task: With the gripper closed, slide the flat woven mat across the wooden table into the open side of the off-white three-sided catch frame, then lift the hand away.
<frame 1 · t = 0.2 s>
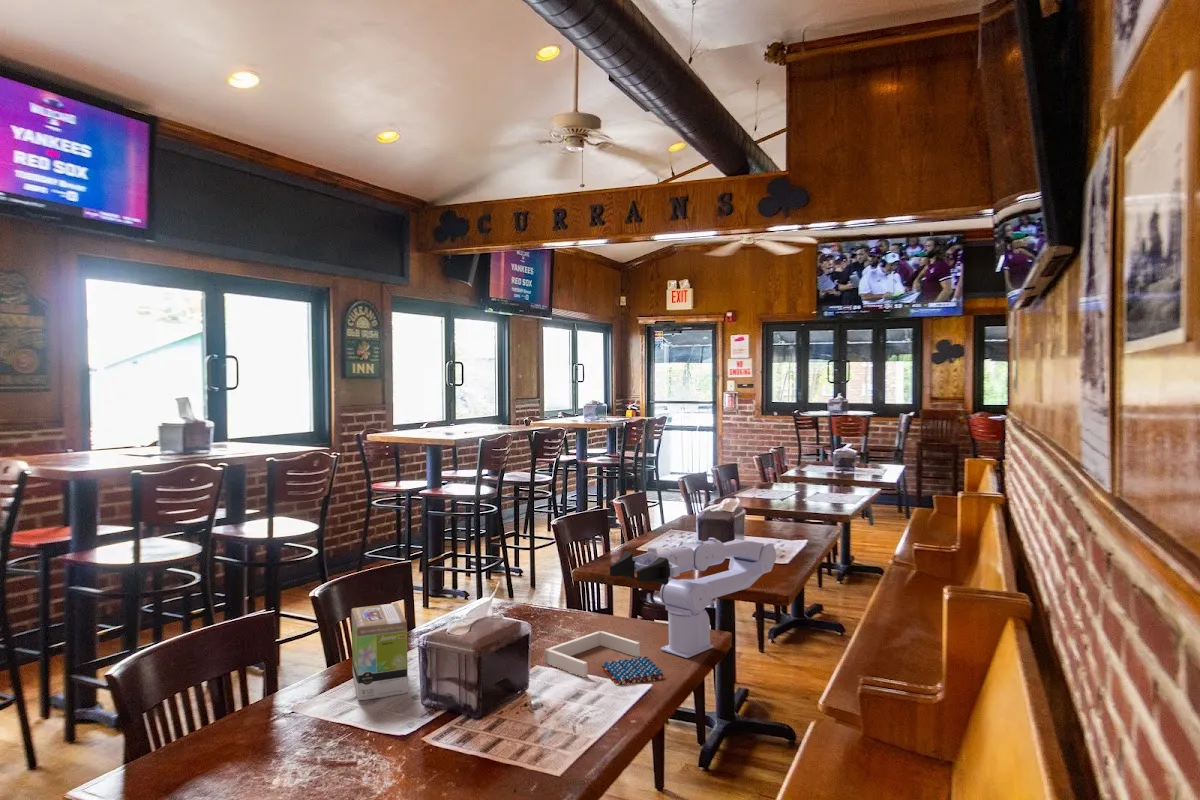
hand: (624, 573, 161), 21 cm above the table, tool horizontal, fingers open, 7 cm apart
tea box: (380, 685, 161), on the table
woven mat: (631, 676, 163), on the table
catch frame: (600, 662, 170), on the table
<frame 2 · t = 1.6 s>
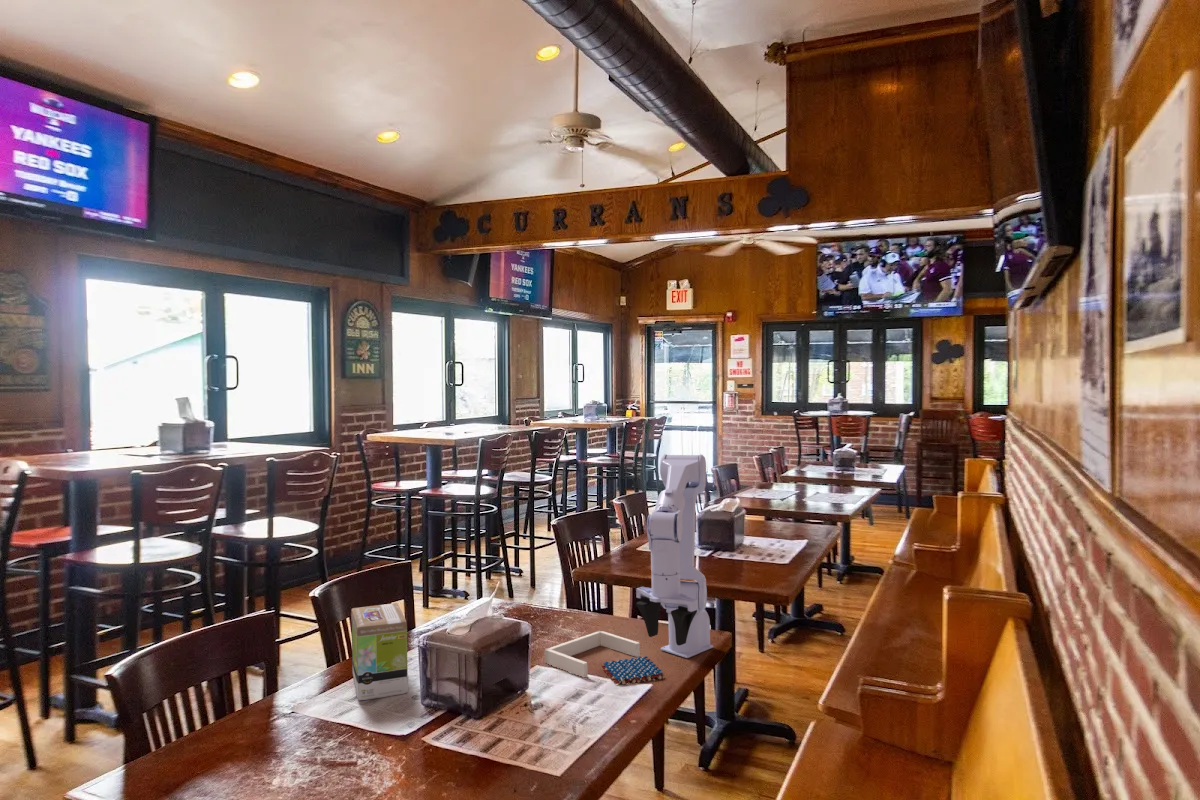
hand: (667, 639, 155), 9 cm above the table, tool pointing down, fingers open, 7 cm apart
nothing on the table moved.
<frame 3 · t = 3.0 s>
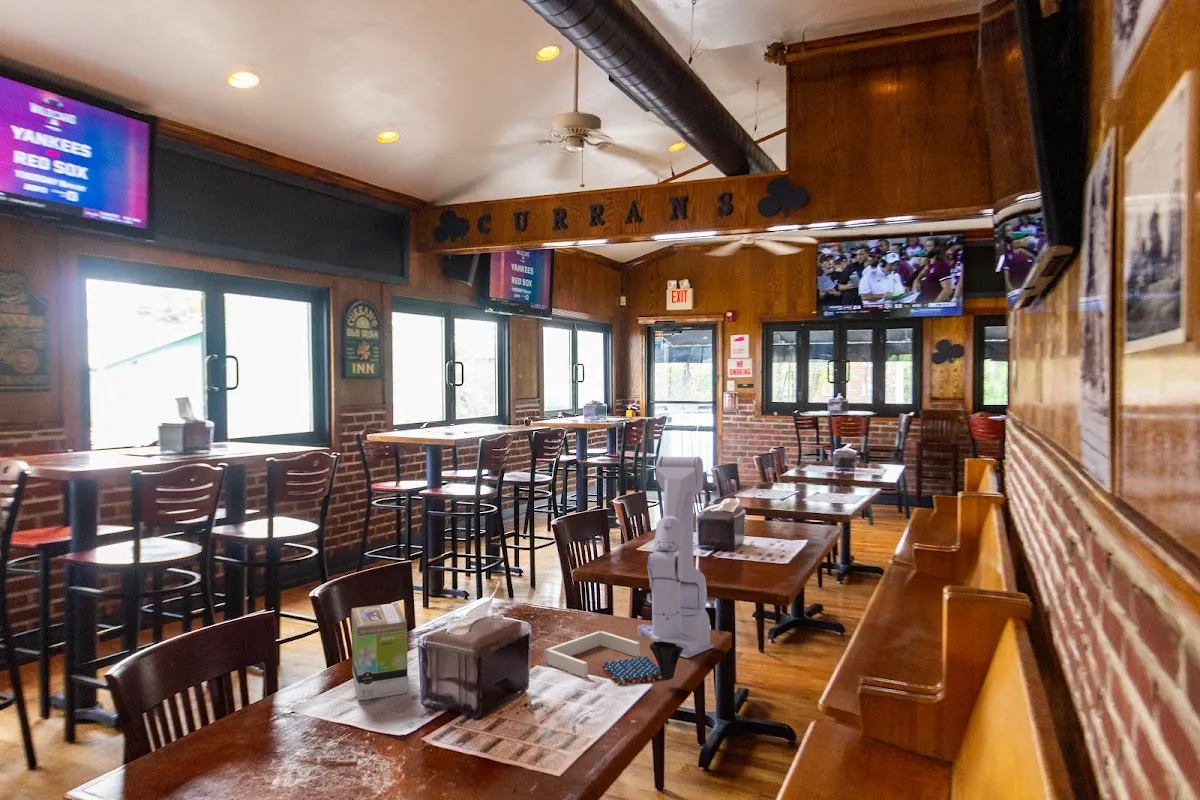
hand: (667, 678, 156), 2 cm above the table, tool pointing down, fingers closed
nothing on the table moved.
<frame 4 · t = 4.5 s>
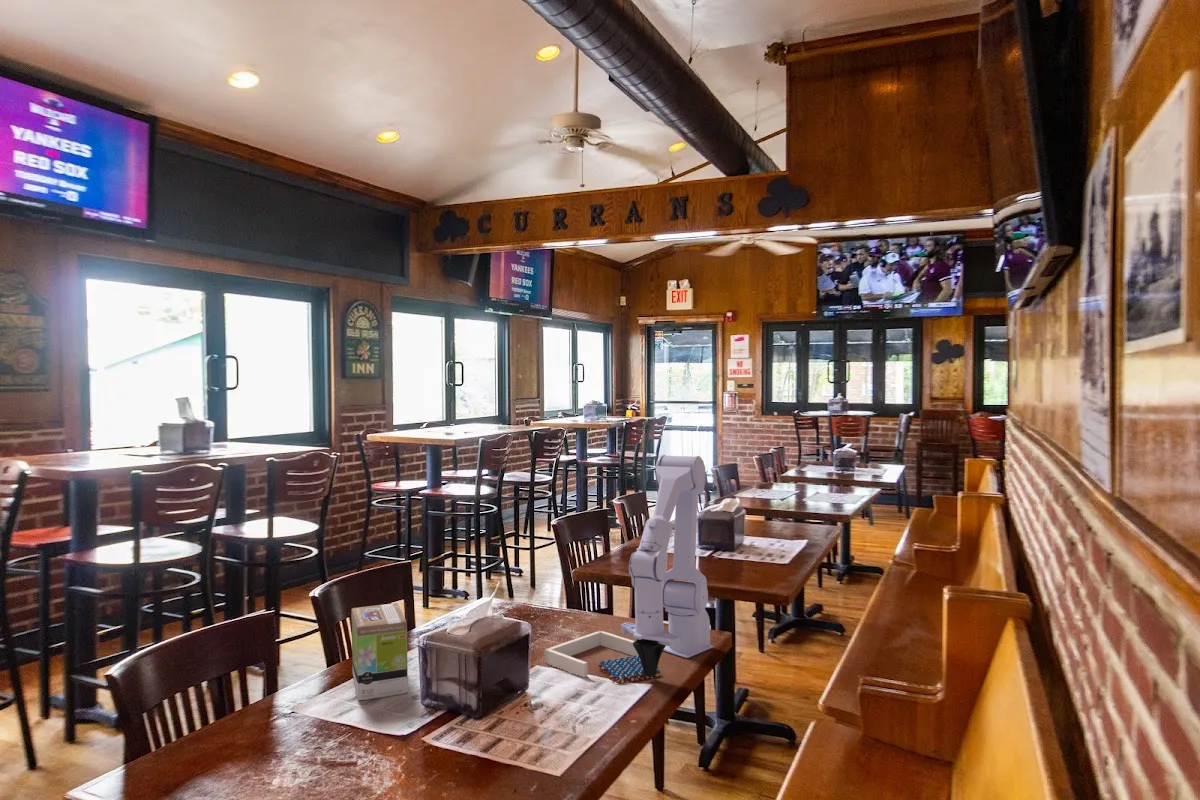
hand: (650, 675, 159), 1 cm above the table, tool pointing down, fingers closed
woven mat: (628, 675, 164), on the table
everything else where it was.
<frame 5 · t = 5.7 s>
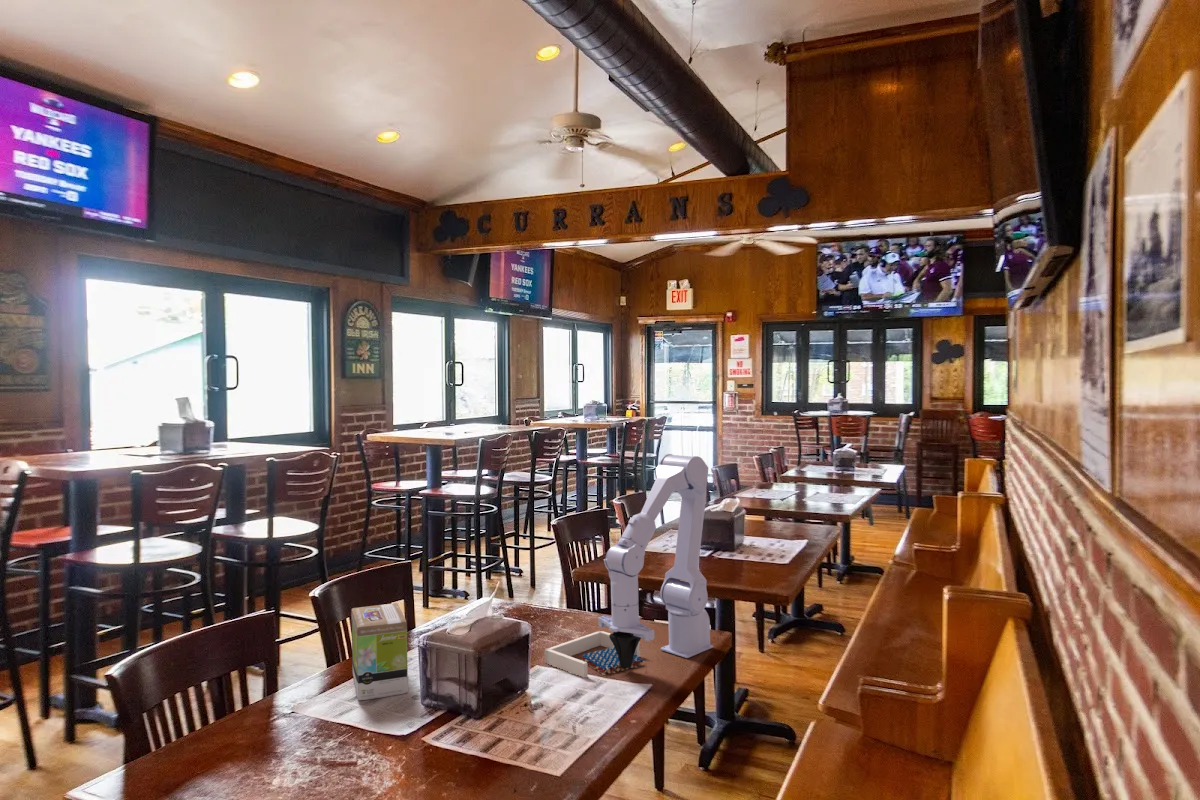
hand: (626, 666, 164), 1 cm above the table, tool pointing down, fingers closed
woven mat: (611, 666, 169), on the table
everything else where it was.
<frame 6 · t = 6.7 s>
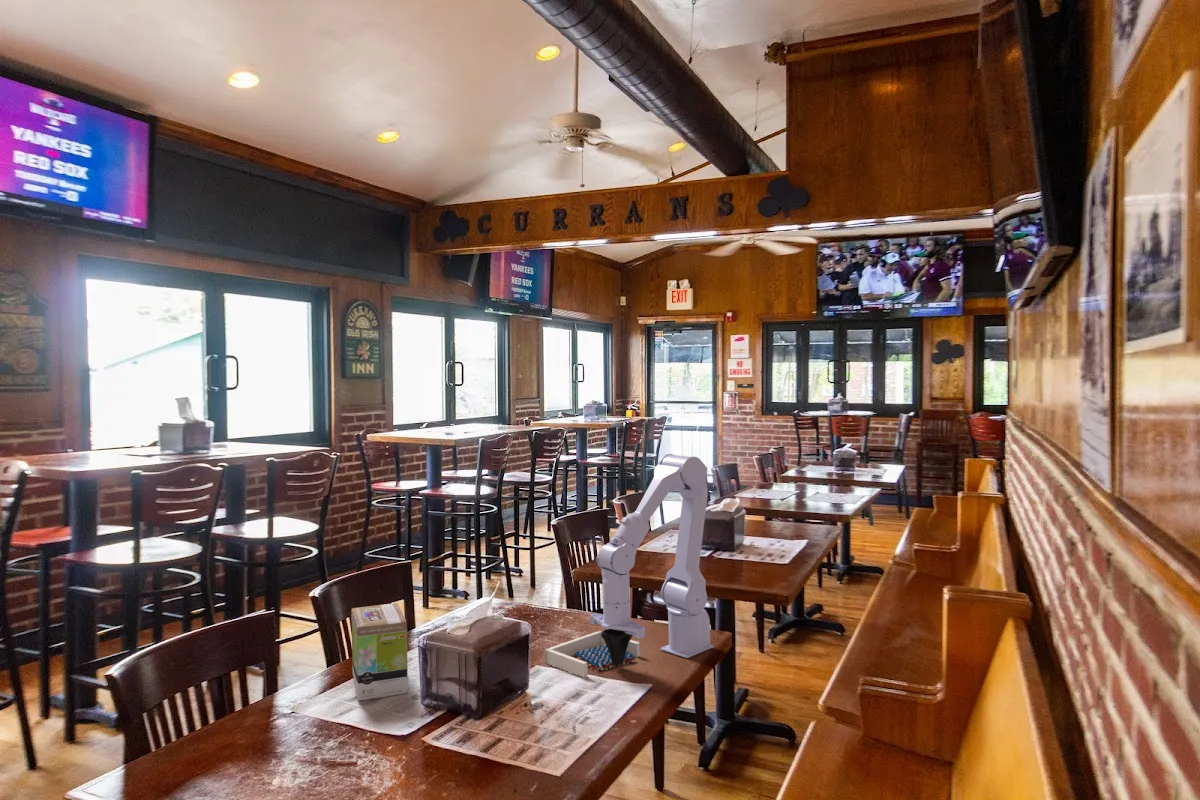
hand: (617, 663, 166), 1 cm above the table, tool pointing down, fingers closed
woven mat: (603, 663, 171), on the table
everything else where it was.
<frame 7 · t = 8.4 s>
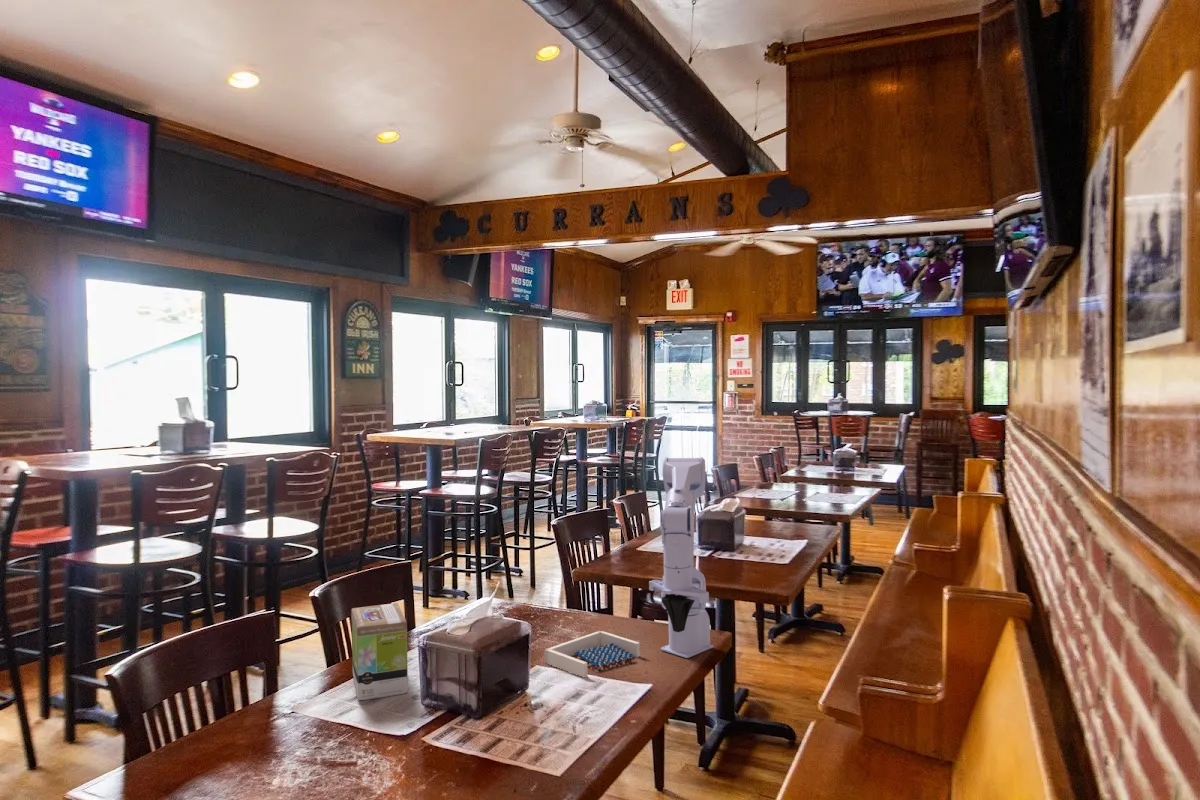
hand: (678, 630, 161), 9 cm above the table, tool pointing down, fingers closed
nothing on the table moved.
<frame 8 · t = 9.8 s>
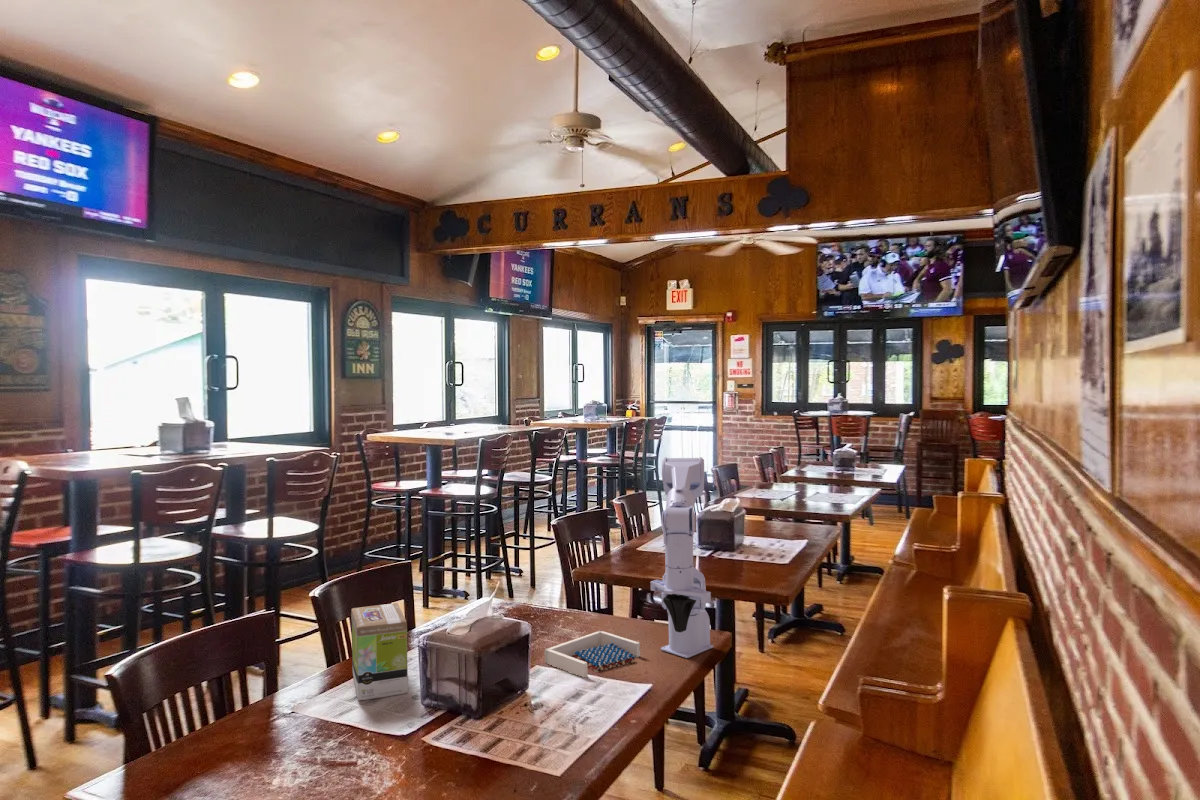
hand: (680, 630, 161), 9 cm above the table, tool pointing down, fingers closed
nothing on the table moved.
at the end: woven mat inside the target area on the catch frame (3.2 cm from its centre), point -0.7 cm above the catch frame's base; woven mat moved 10.0 cm from its start; the gripper is holding nothing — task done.
